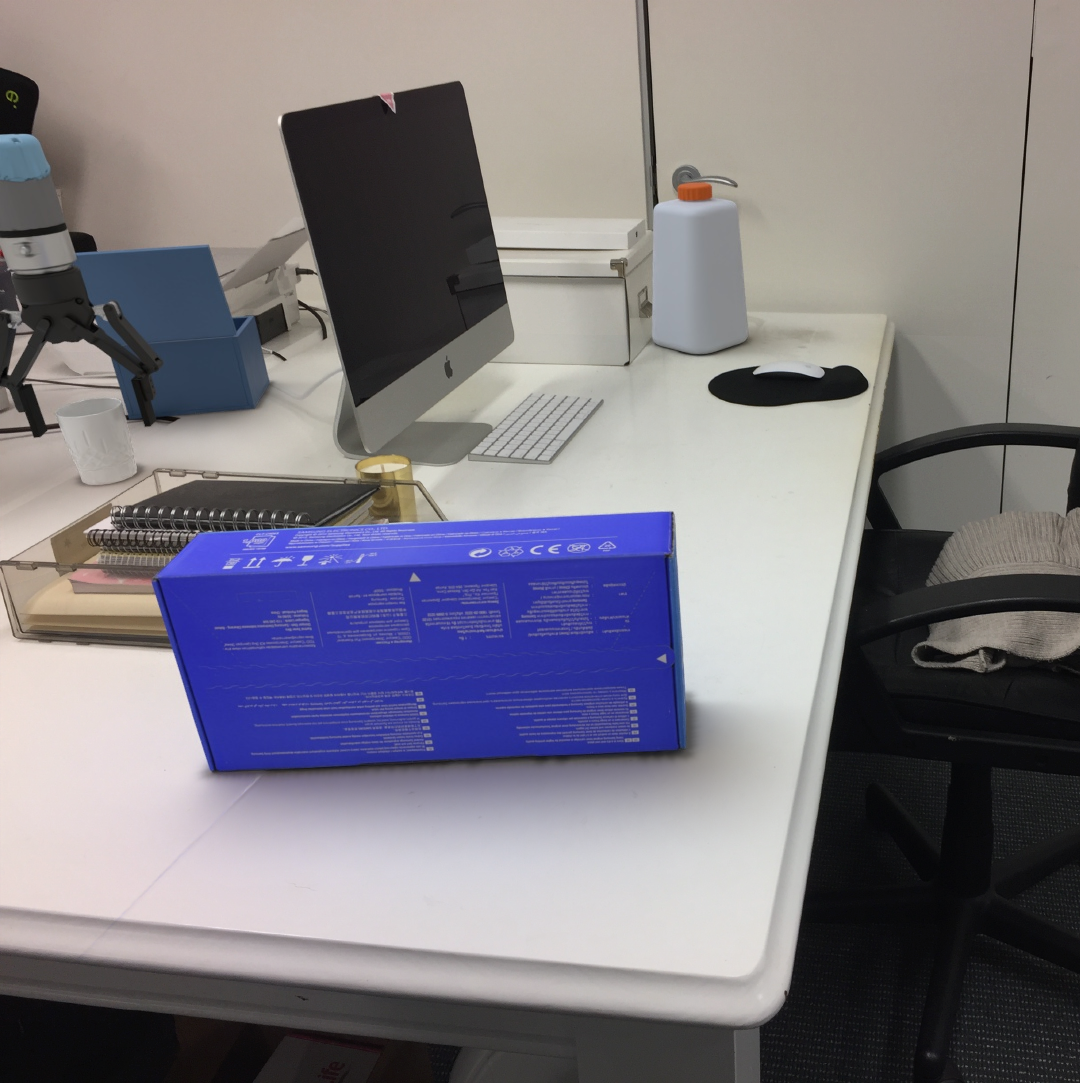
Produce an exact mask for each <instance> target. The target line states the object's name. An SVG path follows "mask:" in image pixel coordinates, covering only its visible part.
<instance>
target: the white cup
mask: <svg viewBox="0 0 1080 1083" xmlns="http://www.w3.org/2000/svg"><path fill="white" fill-rule="evenodd" d="M54 416H55V418H56V422H57V424H58V426H59V428H60V431H61V434H62V437H63V439H64V442H65V444H66V447H67V449H68V451H69V453H70V457H71V459H72V461H73V463H74V464H75V466H76V468H77V471H78V474H79V477H80V479H81V482H82V483H84V484H85V485H89V486H102V485H110V484H115V483H119V482H123V481H125V480H128V479H129V478H130V479H131V478H132V477H133V476H135V475H136V474H137V473H138V466H137V463H136V458H135V455H134V454H135V450H134V447H133V442H132V437H131V433H130V429H129V424H128V420H127V417H126V413H125V409H124V405H123V400H121V399H119V398H118V397H117V398H116V397H107V396H105V397H104V396H103V397H93V398H87V399H86V398H85V399H82V400H81V399H80V400H77V401H73V402H70V403H66V404H64V405H62V406H60V407H59V408H57V409H56V410H55V411H54Z"/></svg>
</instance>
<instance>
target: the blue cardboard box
mask: <svg viewBox="0 0 1080 1083" xmlns="http://www.w3.org/2000/svg"><path fill="white" fill-rule="evenodd" d="M676 523H677V522H676V514H675V512H674V511H673V510H651V511H649V510H647V511H630V512H608V513H607V512H606V513H604V512H603V513H585V514H565V515H542V516H522V517H521V516H520V517H500V518H499V517H497V518H478V519H475V518H474V519H458V520H457V519H456V520H439V521H436V520H435V521H418V522H417V521H416V522H397V523H395V522H394V523H378V524H377V523H375V524H374V523H373V524H355V525H335V526H333V525H332V526H331V525H330V526H313V527H312V526H311V527H292V528H291V527H289V528H270V529H268V528H267V529H248V530H229V531H208V532H197V533H196V536H194V537H193V538H192V539H191V540H190V541H189V542H188V543H187V544H186V545H185V546H184V547H183V548H182V549H181V550H180V551H179V552H178V553H177V554H175V556H174V557H173V558H172V559H171V560H170V561H169V562H168V563H167V564H166V565H165V566H163V567H162V568H161V569H160V570H159V571H158V572H156V573H155V574H154V576H152V578H150V580H151V581H150V582H151V584H152V585H151V586H152V588H153V592H154V595H155V598H156V601H157V605H158V608H159V612H160V614H161V615H160V616H161V618H162V621H163V623H164V627H165V630H166V633H167V637H168V640H169V643H170V646H171V649H172V653H173V656H174V659H175V662H176V665H177V669H178V672H179V675H180V678H181V682H182V685H183V689H184V691H185V695H186V698H187V702H188V704H189V708H190V712H191V716H192V719H193V722H194V725H195V729H196V731H197V734H198V737H199V741H200V743H201V747H202V750H203V753H204V756H205V760H206V763H207V765H208V769H209V771H211V772H214V773H223V772H224V773H225V772H237V771H238V772H239V771H240V772H241V771H257V770H258V771H259V770H285V769H289V770H290V769H307V768H328V767H346V766H347V767H349V766H351V767H352V766H362V765H393V764H413V763H414V764H415V763H417V764H418V763H434V762H435V763H436V762H453V761H469V760H470V761H471V760H490V759H505V758H520V757H544V756H567V755H568V756H569V755H591V754H612V753H613V754H614V753H615V754H616V753H637V752H659V751H679V750H685V749H686V748H687V704H686V683H685V682H686V681H685V679H686V678H685V664H684V663H685V662H684V644H683V642H684V641H683V631H682V616H681V615H682V614H681V597H680V586H679V585H680V584H679V566H678V555H677V552H678V551H677V550H678V549H677V524H676Z"/></svg>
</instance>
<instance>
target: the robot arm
mask: <svg viewBox="0 0 1080 1083" xmlns="http://www.w3.org/2000/svg"><path fill="white" fill-rule="evenodd" d="M43 150H44V149H43V147H42V144H41V142H40V141H39V139H38V138H37V137H35V136H34V135H32V134H28V133H9V134H8V133H7V134H0V248H1V252H2V254H3V257H4V260H5V263H6V266H7V268H8V269H9V270H11V271H13V273H12V274H11V276H10V279H11V282H12V285H13V288H14V291H15V294H16V298H17V300H18V302H19V305H20V306H21V311H18V310H13V309H10V308H4V309H2V310H0V387H2V388H5V389H7V390H8V391H9V392H10V396H11V399H12V402H13V404H14V407H15V410H16V411H17V412H18V413H21V414H22V413H24V414H25V416H26V419H27V422H28V425H29V427H30V431H31V434H32V437H33V438H34V439H36V438H38V439H39V438H41V437H42V436H43V435H44V434H46V433H47V432H48V427H47V424H46V422H45V421H46V420H45V418H44V415H43V413H42V410H41V407H40V404H39V401H38V398H37V395H36V392H35V390H34V387H33V384H32V383H25V382H26V378H27V377H28V375H29V373H30V371H31V370H32V367H33V366H34V365H35V362H36V361H37V359H38V357H39V355H40V354H41V352H42V350H43V348H44V347H45V346H46V344H47V343H51V345H59V344H62V343H64V342H65V343H79V342H80V341H82V340H84V341H85V342H87V343H88V344H89V345H93V346H94V347H96V348H97V349H99V350H100V351H102V353H104V354H105V355H107V356H108V357H109V358H110V359H111V358H112V359H114V360H115V361H116V362H118V363H119V364H120V365H122V366H123V367H125V368H126V369H127V370H129V371H130V372H131V373H133V374H134V375H135V377H134V378H132V379H131V383H132V386H133V389H134V393H135V396H136V399H137V402H138V406H139V409H140V412H141V416H142V418H141V419H142V421H143V426H144V428H150V427H152V426H153V425H154V424H155V423H156V421H157V417H155V413H154V410H153V406H152V403H151V400H153V399H154V398H155V397H156V390H155V387H154V383H153V380H152V376H151V374H152V373H154V372H157V371H158V370H159V369H160V368H161V367H162V366H163V364H164V363H163V360H162V359H161V358H160V357H159V356H158V355H157V354H156V352H155V351H154V350H153V349H152V348H151V347H150V346H149V344H148V343H147V342H146V341H145V340H144V339H143V337H142V336H141V335H140V334H139V333H138V332H137V331H136V329H135V328H134V327H133V326H132V325H131V324H130V323H129V321H128V320H127V319H126V318H125V317H124V315H123V313H122V310H121V308H120V305H119V303H118V302H117V301H115V300H111V301H110V302H108V303H107V304H101V305H96V306H94V305H93V304H92V303H91V302H90V300H89V298H88V293H87V290H86V287H85V283H84V280H83V277H82V274H81V270H80V268H79V267H77V266H76V265H73V263H74V262H76V260H77V257H76V254H75V253H76V250H75V248H74V244H73V242H72V238H71V235H70V232H69V229H68V226H67V223H66V220H65V216H64V213H63V210H62V206H61V203H60V200H59V197H58V192H57V189H56V186H55V182H54V179H53V176H52V170H51V166H50V162H48V161H47V158H46V155H45V152H44V151H43ZM97 315H99V316H101V317H102V319H103V320H105V321H108V322H109V324H110V325H111V327H112V328H113V329H114V330H115V331H116V332H117V334H118V335H119V336H120V337H121V338H122V339H123V340H124V342H125V343H126V344H127V345H128V346H129V347H130V348H131V349H132V351H133V352H134V353H135V354H136V355H137V356H138V357H139V358H140V359H139V358H138V357H136V356H135V355H134V354H132V353H131V352H130V351H128V350H127V349H126V348H124V347H123V346H122V345H120V344H119V343H118V342H116V341H115V340H114V339H112V338H111V337H110V336H108V335H107V334H106V333H105V331H104V330H103V329H102V328H100V327H99V326H98V325H97V323H96V322H95V318H96V316H97ZM21 322H22V323H23V324H25V325H26V326H27V327H28V328H29V329H31V330H32V331H33V332H32V334H31V336H30V338H29V339H28V341H27V345H26V346H25V348H24V350H23V352H22V353H21V355H20V358H19V359H18V361H17V363H16V364H15V366H14V368H13V370H12V372H11V373H10V374H9V370H10V365H11V361H12V360H11V359H12V355H13V354H12V353H13V349H14V344H15V339H16V334H17V329H18V328H19V327H20V326H21ZM24 383H25V384H24Z"/></svg>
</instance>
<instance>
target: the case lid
mask: <svg viewBox="0 0 1080 1083" xmlns="http://www.w3.org/2000/svg"><path fill="white" fill-rule="evenodd" d="M75 254H76V257H77V260H76V262H74V263H73V265H76V266H77V267H79V268H80V270H81V274H82V277H83V280H84V283H85V287H86V290H87V293H88V298H89V300H90V302H91V303H92V304H93V305H94V306H96V305H101V304H107V303H108V302H110V301H111V300H115V301H117V302H118V303H119V305H120V308H121V310H122V313H123V315H124V317H125V318H126V319H127V320H128V321H129V323H130V324H131V325H132V326H133V327H134V328H135V329H136V331H137V332H138V333H139V334H140V335H141V336H142V337H143V339H144V340H145V341H146V342H154V341H167V340H180V339H193V338H206V337H219V336H232V335H236V334H237V331H236V328H235V325H234V322H233V319H232V317H233V315H232V312H231V309H230V306H229V303H228V300H227V297H226V294H225V290H224V288H223V286H222V282H221V278H220V276H219V272H218V269H217V266H216V262H215V260H214V257H213V254H212V251H211V248H210V244H197V245H196V244H195V245H181V246H180V245H178V246H166V247H165V246H162V247H148V248H132V249H131V248H130V249H117V250H116V249H115V250H100V251H99V250H98V251H86V252H84V251H83V252H75ZM94 322H95V324H96V325H98V326H99V327H100V328H102V329H103V330H104V331H105V333H106V334H107V335H108V336H110V337H111V338H112V339H114V340H115V341H116V342H118V343H119V344H126V343H125V342H124V340H123V339H122V338H121V337H120V336H119V335H118V334H117V332H116V331H115V330H114V329H113V328H112V327H111V325H110V324H109V322H108V321H105V320H103V319H102V317H101V316H99V315H97V316H96V318H95V320H94Z"/></svg>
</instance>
